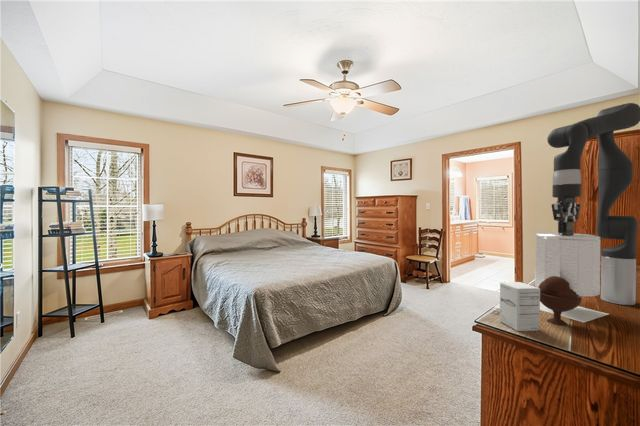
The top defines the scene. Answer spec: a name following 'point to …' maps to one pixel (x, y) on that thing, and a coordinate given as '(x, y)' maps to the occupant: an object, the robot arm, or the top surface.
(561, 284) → the ice cream bowl
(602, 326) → the top surface
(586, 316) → the mat
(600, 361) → the top surface
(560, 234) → the cover
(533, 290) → the supplement box
